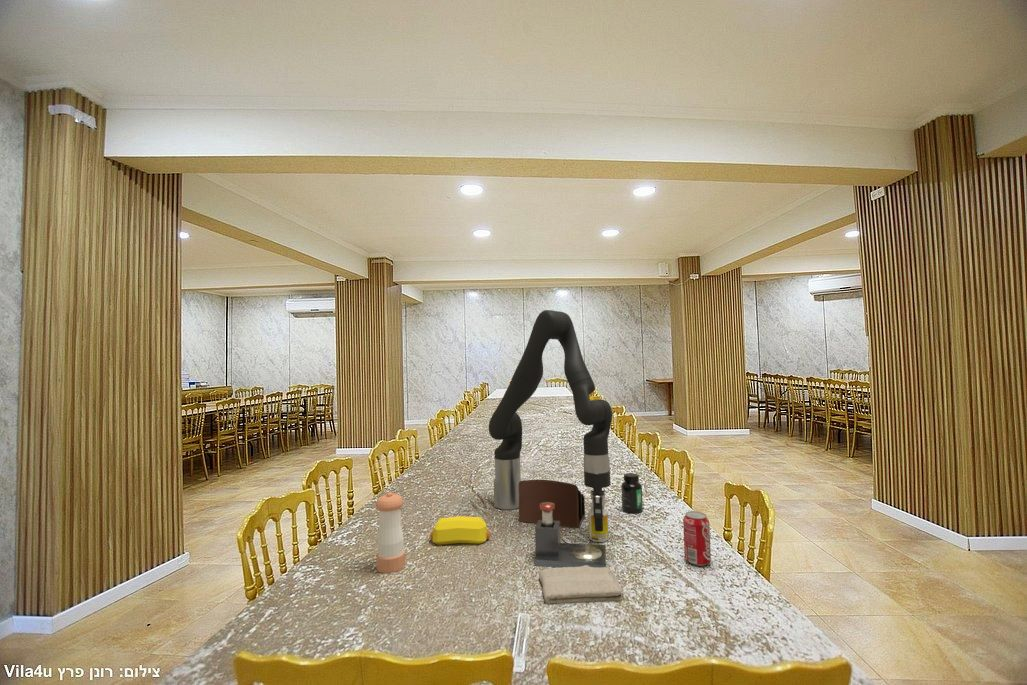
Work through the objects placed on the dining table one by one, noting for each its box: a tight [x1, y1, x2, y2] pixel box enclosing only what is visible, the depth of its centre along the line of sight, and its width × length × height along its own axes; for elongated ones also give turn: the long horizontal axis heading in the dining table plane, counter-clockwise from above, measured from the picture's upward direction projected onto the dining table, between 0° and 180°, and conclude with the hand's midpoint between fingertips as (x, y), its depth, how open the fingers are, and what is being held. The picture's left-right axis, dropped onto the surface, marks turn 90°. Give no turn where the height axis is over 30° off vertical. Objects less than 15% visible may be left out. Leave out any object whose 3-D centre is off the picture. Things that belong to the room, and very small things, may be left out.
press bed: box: [533, 520, 607, 568], centre depth 119 cm, size 18×11×8 cm, turn 79°
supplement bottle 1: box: [587, 502, 609, 543], centre depth 131 cm, size 6×6×10 cm
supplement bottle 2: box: [620, 472, 644, 515], centre depth 153 cm, size 7×7×12 cm
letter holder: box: [518, 479, 586, 529], centre depth 147 cm, size 10×20×14 cm, turn 70°
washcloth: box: [538, 565, 624, 605], centre depth 104 cm, size 12×18×3 cm, turn 93°
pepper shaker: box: [375, 491, 406, 574], centre depth 118 cm, size 7×7×19 cm
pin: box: [540, 502, 555, 527], centre depth 121 cm, size 4×4×8 cm
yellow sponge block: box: [429, 515, 491, 546], centre depth 133 cm, size 18×7×8 cm
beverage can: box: [682, 510, 712, 567], centre depth 115 cm, size 6×6×12 cm
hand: (599, 525), depth 131 cm, fingers open, 8 cm apart
